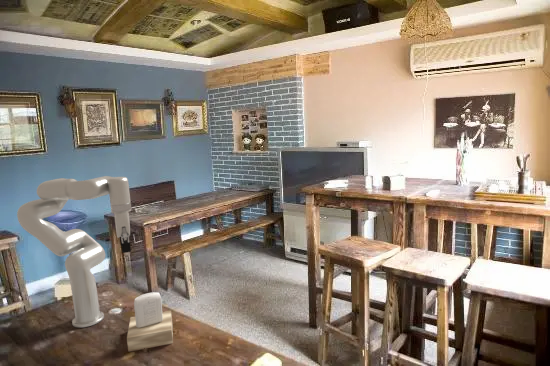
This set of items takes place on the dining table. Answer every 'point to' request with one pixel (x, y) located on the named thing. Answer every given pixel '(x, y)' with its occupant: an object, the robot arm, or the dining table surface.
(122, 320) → the dining table surface
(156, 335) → the birch block
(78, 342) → the dining table surface
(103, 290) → the dining table surface
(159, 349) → the dining table surface
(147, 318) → the photo printer
